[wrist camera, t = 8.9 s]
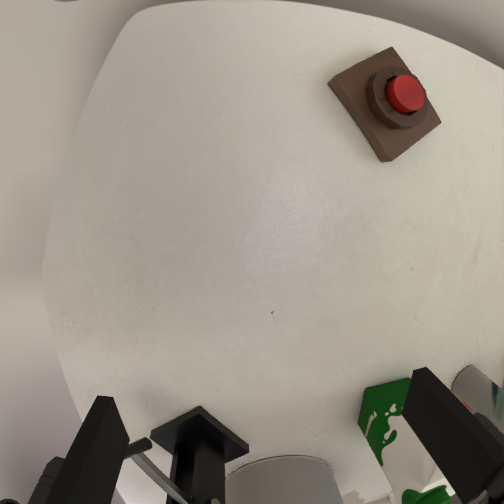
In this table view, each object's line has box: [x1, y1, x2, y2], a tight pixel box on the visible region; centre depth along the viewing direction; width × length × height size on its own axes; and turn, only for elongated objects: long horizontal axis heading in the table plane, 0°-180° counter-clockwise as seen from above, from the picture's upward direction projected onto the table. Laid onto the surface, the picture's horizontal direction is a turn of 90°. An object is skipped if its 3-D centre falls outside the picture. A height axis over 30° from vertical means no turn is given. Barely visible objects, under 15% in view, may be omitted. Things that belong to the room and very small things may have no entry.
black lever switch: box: [150, 406, 249, 504], centre depth 28 cm, size 10×9×14 cm
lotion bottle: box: [452, 366, 504, 434], centre depth 27 cm, size 6×6×20 cm
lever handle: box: [124, 437, 192, 504], centre depth 23 cm, size 12×5×2 cm, turn 37°
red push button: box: [385, 75, 424, 113], centre depth 23 cm, size 4×4×2 cm
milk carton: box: [358, 378, 455, 504], centre depth 26 cm, size 9×9×20 cm
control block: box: [327, 47, 442, 162], centre depth 25 cm, size 10×9×4 cm
